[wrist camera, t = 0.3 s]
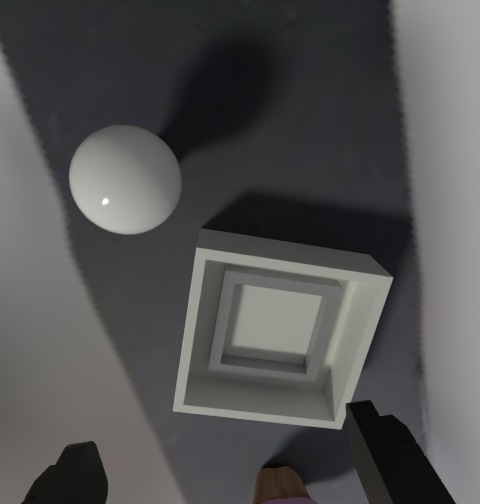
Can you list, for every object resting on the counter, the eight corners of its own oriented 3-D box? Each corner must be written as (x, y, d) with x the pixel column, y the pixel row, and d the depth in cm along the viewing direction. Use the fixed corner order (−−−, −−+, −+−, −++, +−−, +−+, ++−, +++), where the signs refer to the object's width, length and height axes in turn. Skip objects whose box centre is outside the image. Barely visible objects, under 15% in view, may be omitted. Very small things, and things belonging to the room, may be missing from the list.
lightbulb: (143, 104, 28) (95, 96, 17) (208, 161, 29) (200, 185, 19) (95, 169, 29) (24, 196, 19) (160, 219, 31) (127, 271, 20)
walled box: (200, 228, 31) (196, 247, 26) (369, 254, 32) (393, 277, 28) (179, 373, 36) (172, 411, 31) (326, 390, 37) (341, 429, 33)
